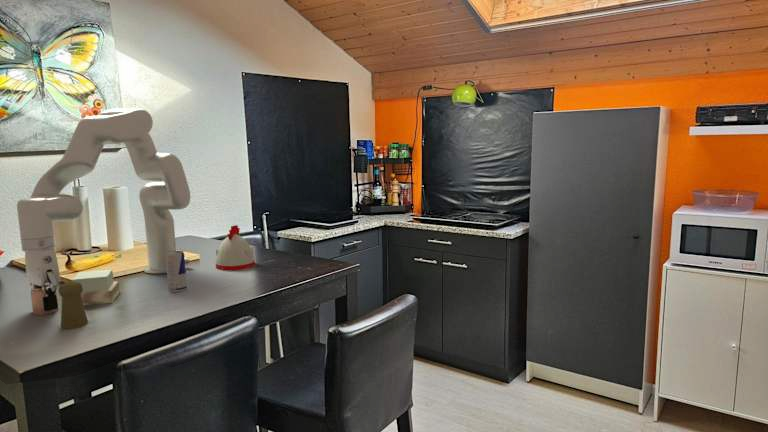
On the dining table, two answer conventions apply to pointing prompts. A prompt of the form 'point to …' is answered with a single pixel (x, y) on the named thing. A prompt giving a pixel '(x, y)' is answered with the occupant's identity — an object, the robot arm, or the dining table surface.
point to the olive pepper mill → (72, 306)
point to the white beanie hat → (234, 252)
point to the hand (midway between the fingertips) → (45, 307)
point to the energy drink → (176, 271)
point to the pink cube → (40, 302)
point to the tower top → (94, 280)
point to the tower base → (101, 295)
